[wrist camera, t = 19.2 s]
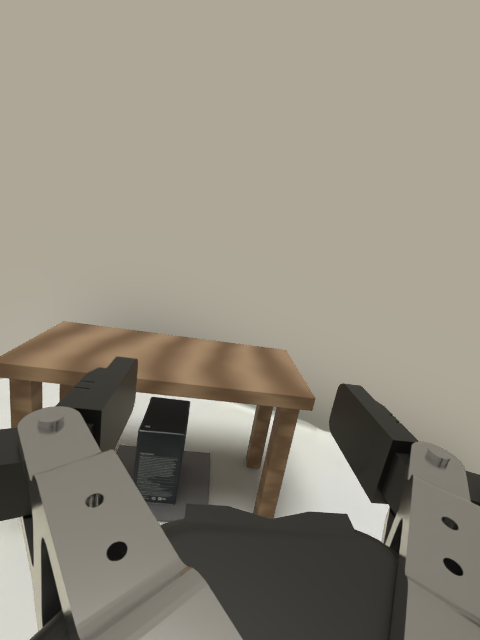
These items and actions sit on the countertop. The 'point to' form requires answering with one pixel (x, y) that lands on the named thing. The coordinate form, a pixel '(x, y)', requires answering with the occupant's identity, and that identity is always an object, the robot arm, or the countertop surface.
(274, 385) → the low shelf
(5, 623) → the countertop surface
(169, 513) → the charcoal mat
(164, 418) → the box
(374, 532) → the countertop surface
